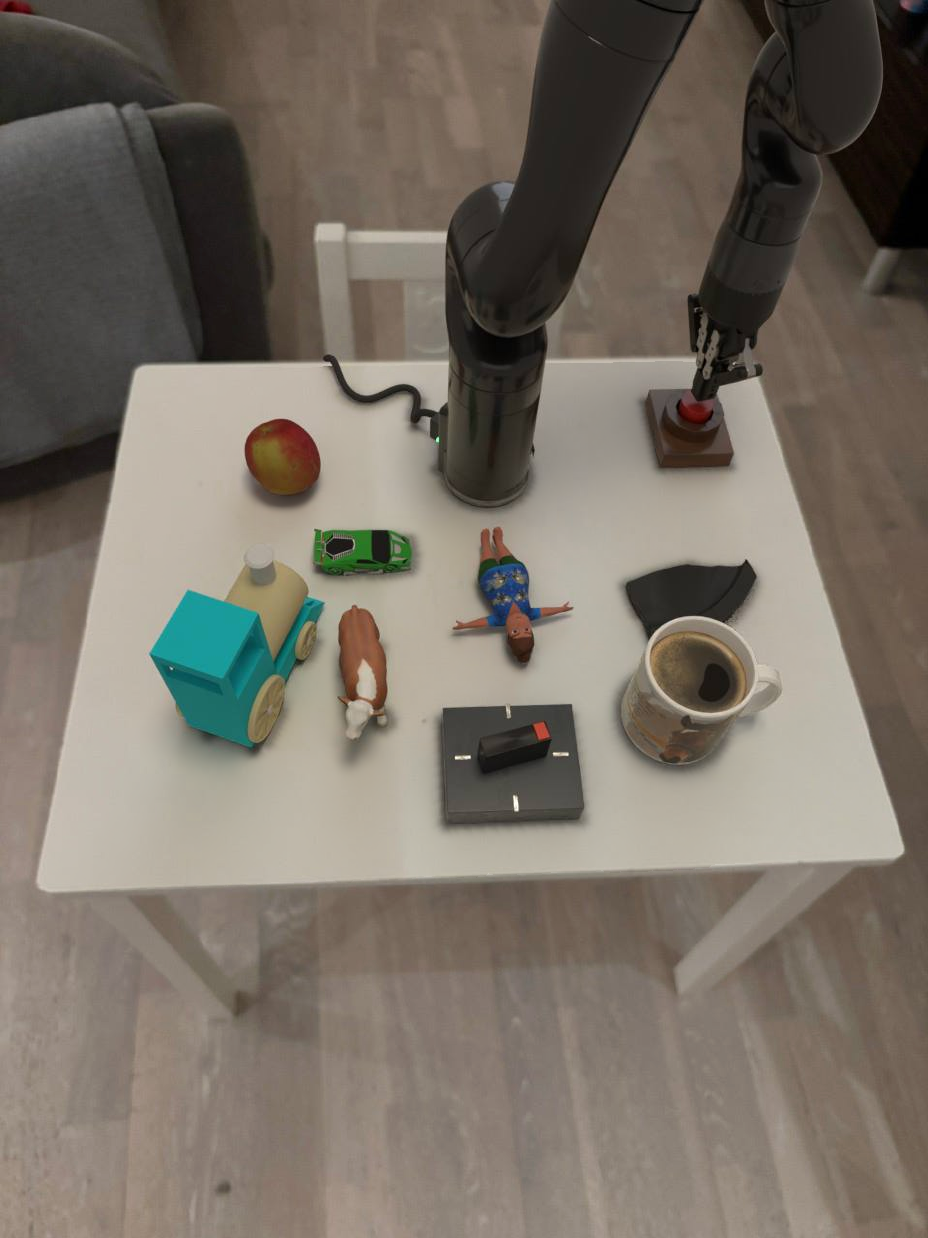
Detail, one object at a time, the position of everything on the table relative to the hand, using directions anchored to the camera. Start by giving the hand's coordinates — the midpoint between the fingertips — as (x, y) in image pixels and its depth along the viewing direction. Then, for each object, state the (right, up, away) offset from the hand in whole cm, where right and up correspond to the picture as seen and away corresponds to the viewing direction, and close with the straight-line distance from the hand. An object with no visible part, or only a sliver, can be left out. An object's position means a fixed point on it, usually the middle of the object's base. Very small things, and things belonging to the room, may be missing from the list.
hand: (701, 395), depth 100 cm
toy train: (-46, -29, -12) cm, 56 cm away
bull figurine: (-36, -32, -13) cm, 50 cm away
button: (0, -1, +2) cm, 3 cm away
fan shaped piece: (-3, -23, -6) cm, 24 cm away
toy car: (-37, -18, -5) cm, 41 cm away
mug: (-5, -35, -13) cm, 37 cm away
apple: (-46, -10, 0) cm, 47 cm away
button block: (0, -3, +5) cm, 6 cm away
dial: (-22, -37, -19) cm, 47 cm away
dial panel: (-22, -38, -16) cm, 47 cm away
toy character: (-22, -23, -7) cm, 33 cm away
